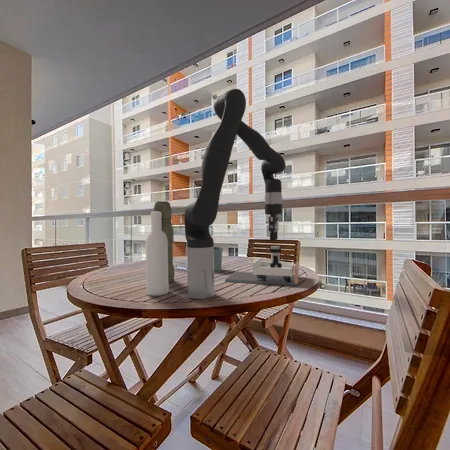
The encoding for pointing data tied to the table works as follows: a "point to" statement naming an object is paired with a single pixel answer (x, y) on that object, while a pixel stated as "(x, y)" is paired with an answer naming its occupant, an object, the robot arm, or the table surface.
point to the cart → (272, 269)
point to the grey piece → (265, 278)
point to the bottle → (157, 258)
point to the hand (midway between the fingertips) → (273, 240)
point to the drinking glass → (217, 258)
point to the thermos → (167, 233)
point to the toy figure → (275, 257)
